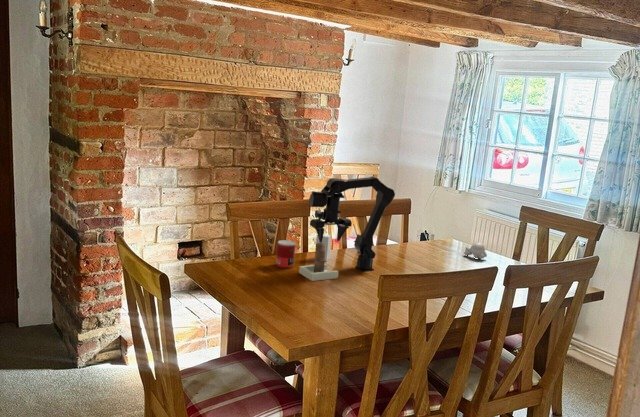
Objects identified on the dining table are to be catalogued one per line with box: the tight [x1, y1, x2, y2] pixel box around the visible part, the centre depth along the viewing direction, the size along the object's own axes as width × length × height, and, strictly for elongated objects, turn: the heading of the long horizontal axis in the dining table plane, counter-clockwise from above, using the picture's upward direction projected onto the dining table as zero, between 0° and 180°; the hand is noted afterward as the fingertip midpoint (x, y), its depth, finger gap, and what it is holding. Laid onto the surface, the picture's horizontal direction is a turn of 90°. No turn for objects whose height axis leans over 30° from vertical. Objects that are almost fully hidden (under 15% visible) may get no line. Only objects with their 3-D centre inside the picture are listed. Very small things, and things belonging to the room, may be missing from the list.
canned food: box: [275, 239, 296, 269], centre depth 259 cm, size 8×8×11 cm
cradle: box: [298, 263, 340, 282], centre depth 250 cm, size 13×11×3 cm
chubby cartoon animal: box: [462, 242, 488, 260], centre depth 300 cm, size 7×12×8 cm, turn 50°
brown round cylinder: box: [313, 243, 326, 273], centre depth 249 cm, size 4×4×13 cm
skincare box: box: [315, 233, 332, 262], centre depth 273 cm, size 6×4×12 cm
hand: (329, 241), depth 257 cm, fingers open, 9 cm apart
